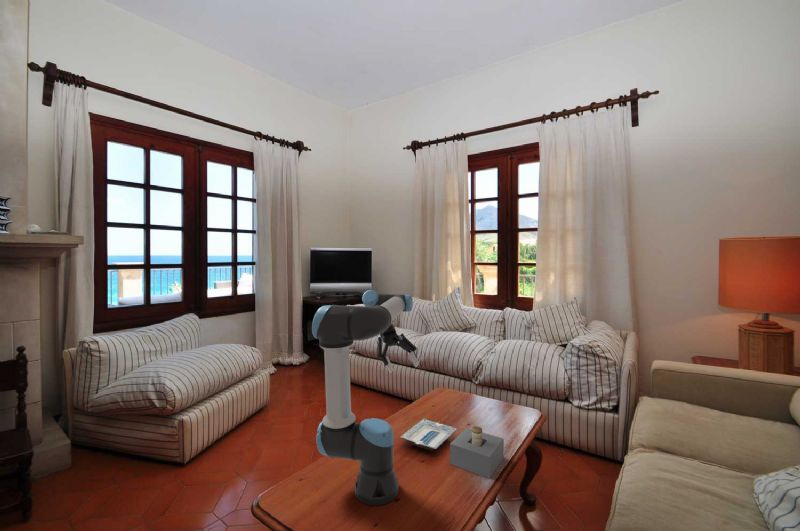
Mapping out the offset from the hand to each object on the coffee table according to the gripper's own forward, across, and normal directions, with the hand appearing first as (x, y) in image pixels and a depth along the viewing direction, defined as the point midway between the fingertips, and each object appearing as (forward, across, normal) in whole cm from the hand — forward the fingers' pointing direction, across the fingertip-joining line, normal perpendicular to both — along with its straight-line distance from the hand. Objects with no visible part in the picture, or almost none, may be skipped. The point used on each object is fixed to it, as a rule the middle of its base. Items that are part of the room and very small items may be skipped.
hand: (404, 368), depth 149 cm
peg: (+41, -17, -5) cm, 45 cm away
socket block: (+42, -17, -6) cm, 46 cm away
